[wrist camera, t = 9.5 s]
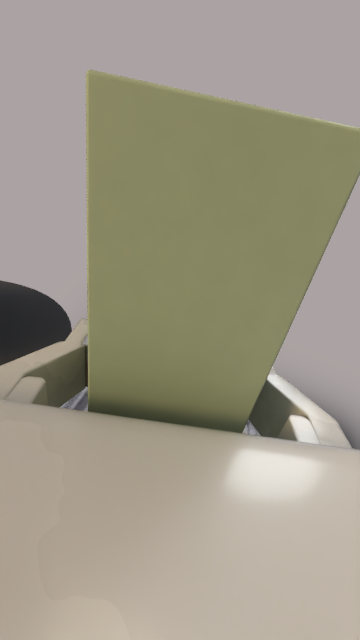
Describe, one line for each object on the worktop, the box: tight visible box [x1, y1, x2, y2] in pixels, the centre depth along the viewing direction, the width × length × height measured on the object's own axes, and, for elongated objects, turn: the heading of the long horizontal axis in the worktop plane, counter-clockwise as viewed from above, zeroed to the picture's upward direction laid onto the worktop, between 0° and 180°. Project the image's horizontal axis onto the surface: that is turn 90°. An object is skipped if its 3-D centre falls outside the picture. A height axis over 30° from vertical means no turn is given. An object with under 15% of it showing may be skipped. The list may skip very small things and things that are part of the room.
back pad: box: [86, 70, 360, 433], centre depth 10 cm, size 4×6×16 cm, turn 178°
